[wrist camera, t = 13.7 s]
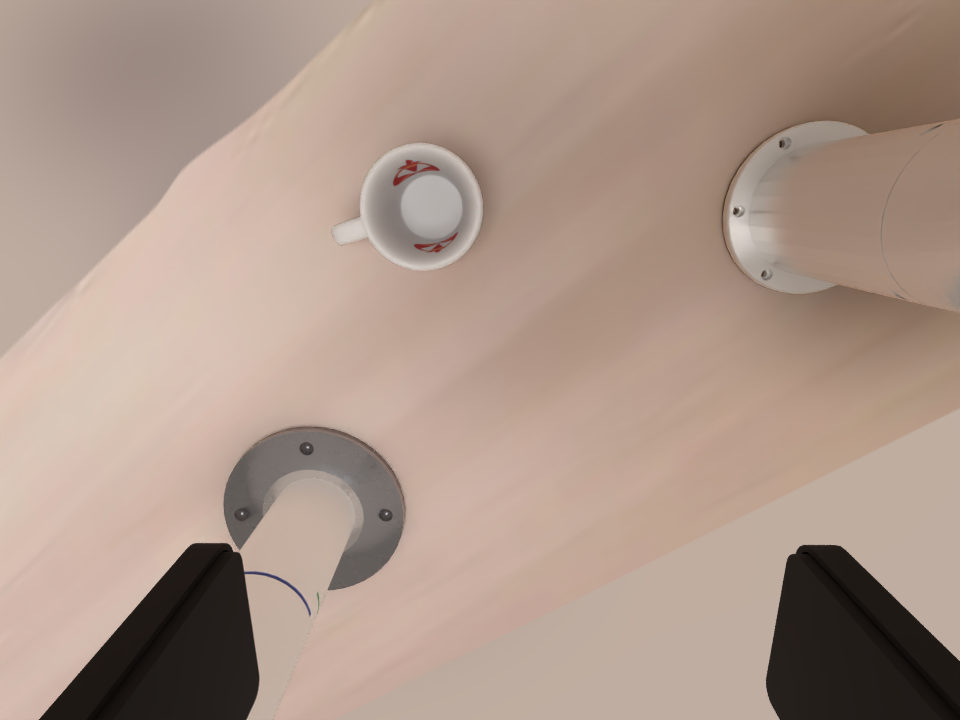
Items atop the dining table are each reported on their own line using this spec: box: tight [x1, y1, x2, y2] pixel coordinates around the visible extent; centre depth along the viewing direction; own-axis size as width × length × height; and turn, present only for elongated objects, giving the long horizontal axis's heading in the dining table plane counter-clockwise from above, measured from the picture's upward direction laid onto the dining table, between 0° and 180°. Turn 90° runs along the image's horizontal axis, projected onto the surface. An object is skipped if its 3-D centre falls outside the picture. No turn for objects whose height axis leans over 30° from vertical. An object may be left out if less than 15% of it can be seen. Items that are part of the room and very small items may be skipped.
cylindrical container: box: [238, 478, 355, 720], centre depth 37 cm, size 7×7×25 cm
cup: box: [332, 143, 483, 271], centre depth 39 cm, size 11×8×8 cm
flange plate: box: [224, 427, 405, 590], centre depth 49 cm, size 16×16×1 cm
